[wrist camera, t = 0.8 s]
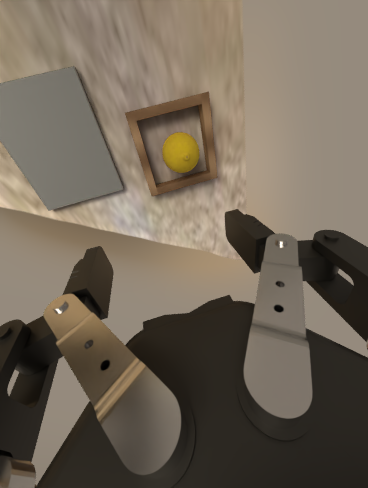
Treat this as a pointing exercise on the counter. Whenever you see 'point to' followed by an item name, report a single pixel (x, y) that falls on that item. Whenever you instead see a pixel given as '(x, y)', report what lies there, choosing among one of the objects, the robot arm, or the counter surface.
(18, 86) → the grey rectangular plate
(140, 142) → the walnut collar
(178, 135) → the lemon
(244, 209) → the counter surface
